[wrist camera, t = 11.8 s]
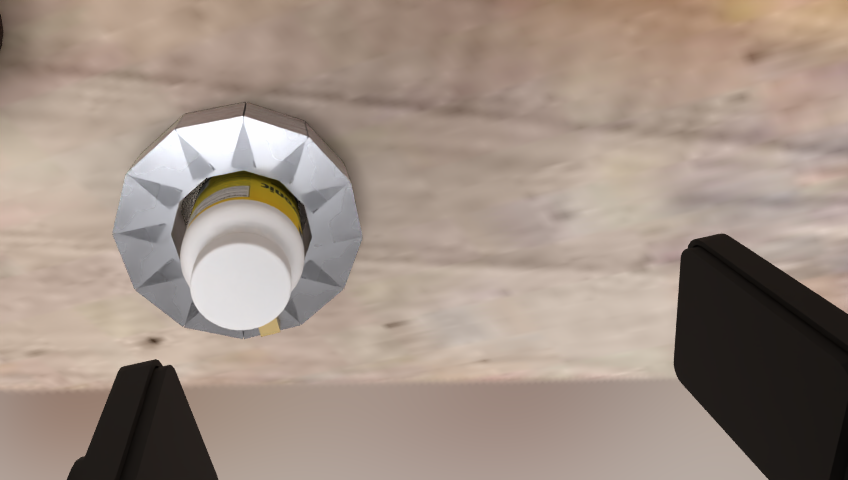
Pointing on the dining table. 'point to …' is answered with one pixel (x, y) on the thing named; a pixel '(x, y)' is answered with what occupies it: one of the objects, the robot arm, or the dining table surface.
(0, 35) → the coffee mug
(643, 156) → the dining table surface
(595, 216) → the dining table surface
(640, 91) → the dining table surface
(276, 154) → the grey faceted ring
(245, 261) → the supplement bottle
